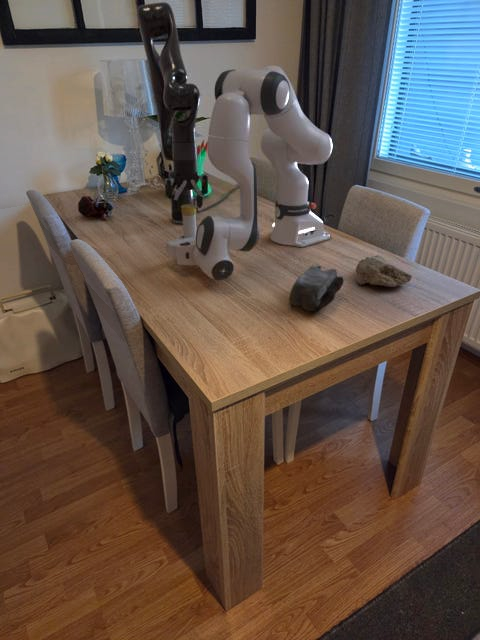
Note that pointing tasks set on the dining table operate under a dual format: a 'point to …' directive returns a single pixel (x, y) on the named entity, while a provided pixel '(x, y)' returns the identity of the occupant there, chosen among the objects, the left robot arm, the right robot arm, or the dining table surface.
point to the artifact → (380, 273)
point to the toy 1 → (95, 207)
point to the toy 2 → (201, 166)
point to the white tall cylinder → (189, 225)
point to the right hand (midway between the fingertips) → (189, 236)
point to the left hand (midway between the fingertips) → (188, 209)
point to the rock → (315, 288)
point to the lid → (188, 209)
